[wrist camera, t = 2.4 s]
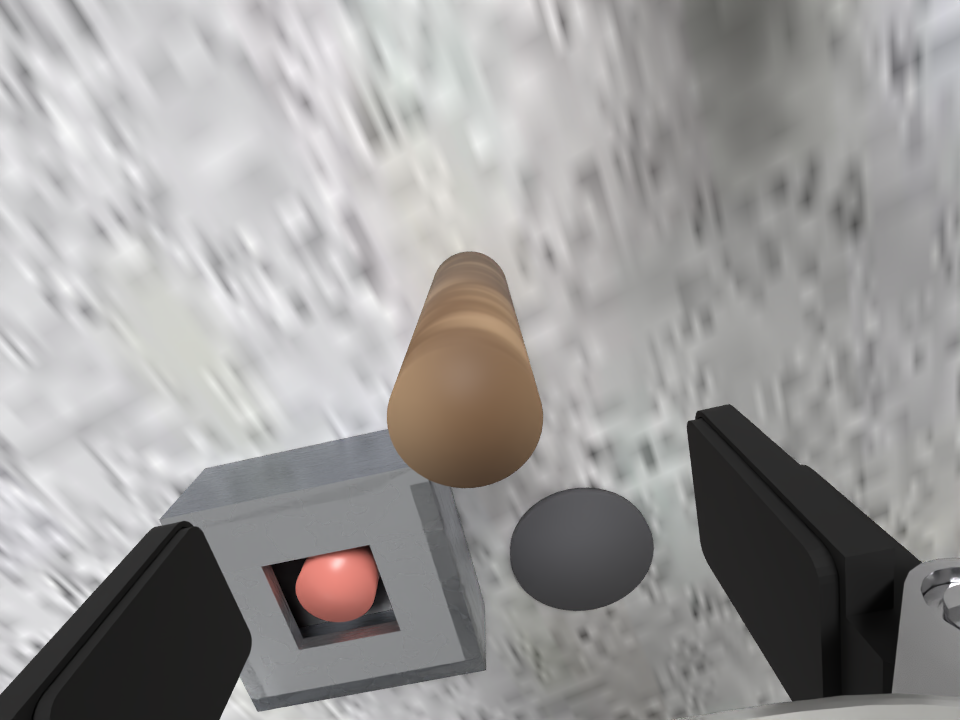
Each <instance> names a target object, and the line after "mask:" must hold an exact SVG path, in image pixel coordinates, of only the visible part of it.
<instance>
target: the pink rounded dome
mask: <svg viewBox="0 0 960 720" xmlns="http://www.w3.org/2000/svg"><path fill="white" fill-rule="evenodd" d="M379 577H380V572H379V570H378V567H377V564H376V561H375V559H374V556H373V553H372V550H371V548H370V545H366V546H361V547H356V548H351V549H346V550H341V551H336V552H331V553H326V554H321V555H316V556H311V557H307V558H306V560H305V562H304V565H303V567H302V569H301V572H300V574H299V576H298V579H297V582H296V595H297V598H298V600H299V602H300V604H301V605H302V606H303V607H304V608H305V610H307V611H308V612H309V613H310V614H312V615H313V616H315V617H317V618H320V619H322V620H326V621H330V622H347V621H351V620H354V619H357V618H359V617H361V616H362V615H364V614H365V613H366V612H367V611H368V610H369V609H370V608H371V606H372V604H373V602H374V598H375V594H376V590H377V585H378V581H379Z"/></svg>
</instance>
